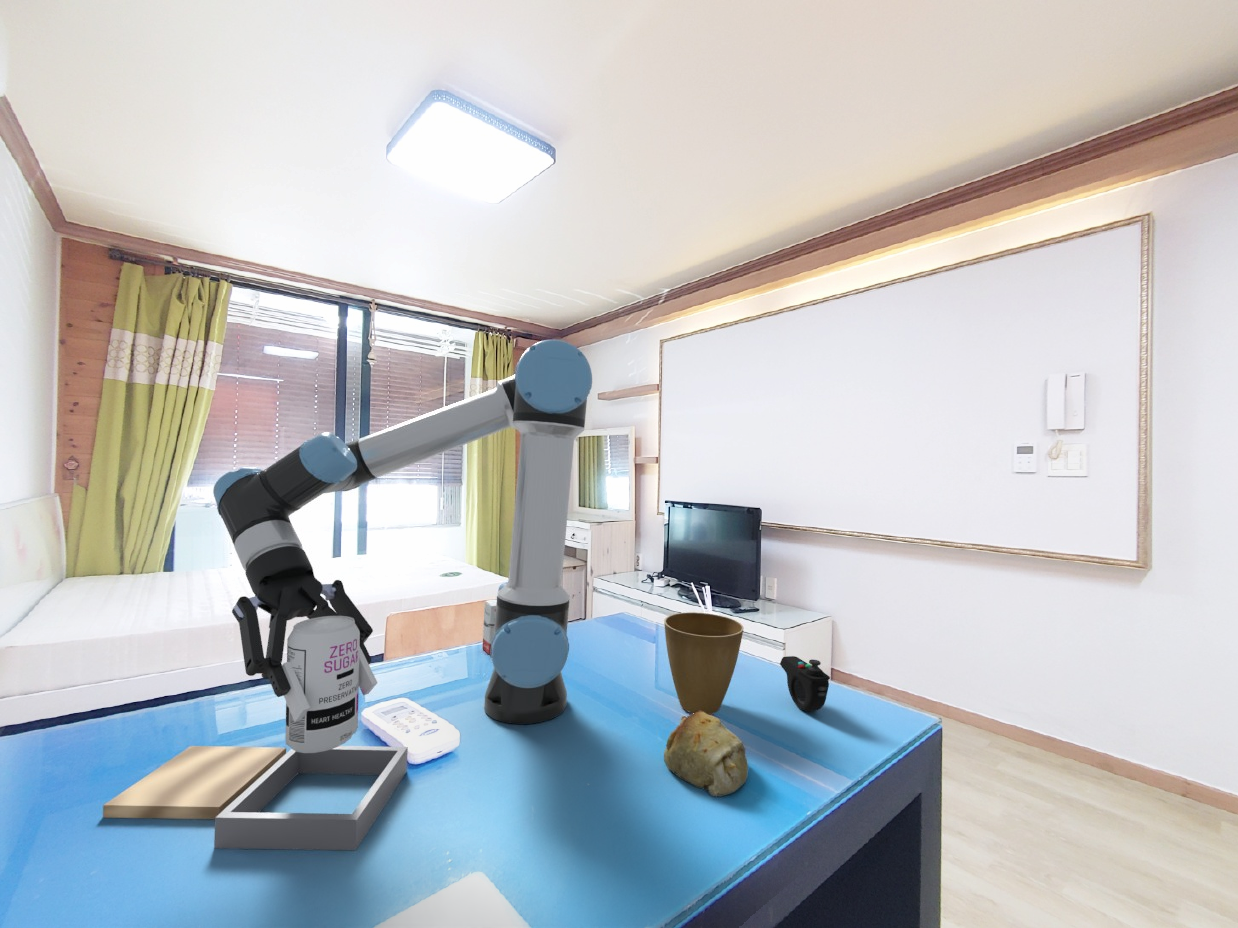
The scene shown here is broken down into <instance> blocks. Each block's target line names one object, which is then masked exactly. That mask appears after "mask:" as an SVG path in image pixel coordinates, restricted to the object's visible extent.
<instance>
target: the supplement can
mask: <svg viewBox="0 0 1238 928" xmlns="http://www.w3.org/2000/svg"><path fill="white" fill-rule="evenodd" d="M286 644H287V645H286V646H287V647H286V648H287V649H286V662H289V661H290V662H291V664H292V667H293V669H294V671H295V674H296V676H297V678H298V681H299V683H300V685H301V688H302V690H303V692H304V695H305V697H306V699H307V702H308V704H309V707H310V709H309V710H308V711H307V712H306V714H305V715H304V716H303V718H302V719H301V720H299V721H296V722H294V719H293V717H292V715H291V712H290V710H289V707H288V705H287V702H286V701H285V736H284V737H285V745H286V746H288V747H289V748H290V749H293V750H294V751H296V752H301V753H317V752H322V751H327V750H330V749H333V748H336V747H338V746H343V745H344V744H346V743H347V742H348V741H349V740H350V739H351V738H352V737H353V736H354V735H355V734H356V733H357V730H358V728H359V694H360V693H359V691H360V690H359V689H360V687H359V647H360V631H359V629H358V628H357V626H356V624H355V620H354V619H353V618H351V617H347V616H325V617H318V618H312V619H308V618H307V619H305V620H302V621H299V622H296V623H295V624H294V625H293V628H292V631H291V632H290V634H289V635H288V637H287V641H286Z"/></svg>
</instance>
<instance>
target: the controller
mask: <svg viewBox="0 0 1238 928" xmlns="http://www.w3.org/2000/svg"><path fill="white" fill-rule="evenodd" d="M779 665H780V667H781V668H782V670H783V671H784V672H785V674H786V679H787V680H786V681H787V689H788V691H789V696H790V697H791V699H792V701H793V703H794V704H795V705H796V707H798V708H799V709H801V710H802V711H804V712H815V711H816V712H817V711H818V710H819V711H820V710H821V708H823V707H824V705H825V702H826V700H827V696H828V691H829V685H830V683H829V681H830V679H831V677H830V676H829V675H828V674H827V673H825V672H824V671H823V669H821V667H820V665H821V661H820V660H817V659H809V660H808V663H807V662H806V661H804V660H803V659H802V658H799V657H797V656H794V655H791V656H790V655H789V656H782V658H781V660H780V662H779Z"/></svg>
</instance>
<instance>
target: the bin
mask: <svg viewBox="0 0 1238 928" xmlns="http://www.w3.org/2000/svg"><path fill="white" fill-rule="evenodd" d="M408 751H409V750H408V746H376V745H375V746H372V745H370V746H368V745H367V746H366V745H365V746H364V745H340V746H338V747H336V748H333V749H330V750H327V751H322V752H317V753H301V752H296V751H294V750H293V749H292V748H290V750H289V751H286V754H285V755H284V756H283V757H282V758H281V759H280V760H278V761H277V762H276V763H275V764H274V765H273V766H272V767H271V768H270V769H269V770H267V771H266V772H265V773H264V774H263V775H262V776H261V777H260V778H259V779H257V780H256V781H255V782H254V783H253V784H252V785H251V786H250V787H249V788H247V789H246V790H245V791H244V792H243V793H242V794H241V795H240V796H239V797H238V798H236V799H235V800H234V801H233V802H232V803H231V804H230V805H229V806H228V807H226V808H225V809H224V810H223V811H222V812H221V813H220V814H219V815H218V816H216V817H215V819H214V845H213V849H235V850H236V849H238V850H239V849H240V850H241V849H243V850H244V849H245V850H246V849H247V850H249V849H250V850H256V849H257V850H315V851H316V850H317V851H318V850H320V851H322V850H323V851H324V850H328V851H330V850H331V851H356V850H357V849H358V847H359V846H360V844H361V843H362V841H363V840H364V838H365V836H366V835H367V834H368V832H369V830H370V829H371V827H372V826H373V824H374V823H375V821H376V819H377V818H378V816H379V815H380V813H381V812H382V810H383V809H384V808H385V806H386V804H387V803H388V801H389V799H390V798H391V797H392V795H393V793H394V792H395V790H396V789H397V788H398V786H399V784H400V782H401V781H402V779H403V778H404V776H405V775H406V773H407V771H408ZM299 774H305V775H306V774H309V775H310V774H314V775H316V774H317V775H319V774H320V775H367V776H368V775H369V776H370V775H371V776H373V775H375V776H377V775H378V777H377V779H376V780H375V781H374V783H373V784H372V785H371V787H370V788H369V790H368V791H367V793H366V794H365V795H364V797H363V798H362V800H360V801H359V803H358V804H357V806H356V807H355V809H354V811H353V812H352V813H317V812H316V813H313V812H261V811H262V810H263V809H264V808H265V807H266V806H267V805H268V804H269V803H270V802H271V801H272V800H273V799H274V798H275V797H276V796H277V795H278V794H279V793H280V792H281V791H283V789H284V788H285V787H286V786H287V785H288V784H290V782H291V781H292V780H293V779H294V778H295V777H296V776H297V775H299Z"/></svg>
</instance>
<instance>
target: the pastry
mask: <svg viewBox="0 0 1238 928" xmlns="http://www.w3.org/2000/svg"><path fill="white" fill-rule="evenodd" d="M665 746H666V748H665V749H664V751H663V760H664V763H665V766H666V767H667V768H668V770H669V771H671V772H673V774H675V775H676V777H678V778H679V779H681V780H682V781H685V782H686V783H689V784H691V785H692V786H695V787H697V788H699V789H702V788H704V789H703V790H705V791H708V790H709V791H708V794H709V793H710V794H709V795H711V796H713V797H714V796H716V797H715V798H718V797H717V796H720V797H723V796H727V795H730V794H733V793H735V792H736V791H737V790H739V788H741V787H742V786H743V785H744V784H745V783H746V782H747V780H748V773H749V772H748V771H749V765H748V759H747V757H746V748H745V747H746V746H745V745H744V743H743V742H742V741H741V739H740V737H738V736H737V735H736V734H735V733H733V732H732V731H730V730H729V729H728V728H726V726H724V724H723V723H722V721H721V720H720V718H718V717H716V716H713V714H710V715H708V714H706V713H705V712H703V711H701V710H700V711H699V712H696V713H694V714H693V713H690V714H689V715H688V716H685V715H684V716H682V717H681V720H680V722H679V725H677V726H676V728H675V729H674V730H673V731H671V733H670V734H669V737H668V738H667V741H666V745H665Z"/></svg>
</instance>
